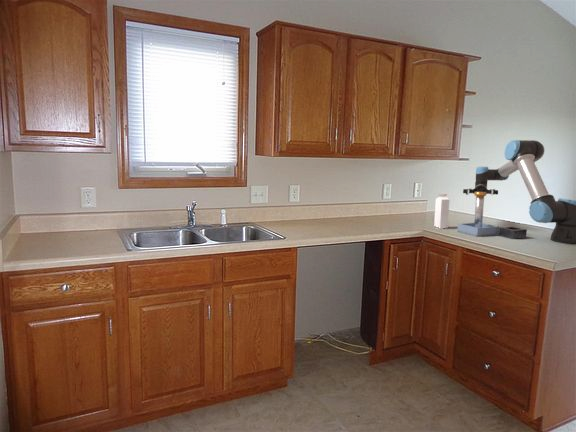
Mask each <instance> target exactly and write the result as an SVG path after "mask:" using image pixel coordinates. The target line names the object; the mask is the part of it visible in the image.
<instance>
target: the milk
mask: <svg viewBox="0 0 576 432" xmlns="http://www.w3.org/2000/svg"><path fill="white" fill-rule="evenodd" d="M434 206H435V207H434V221H433V223H434V225H433V227H434V226H436V227H439V228H449V227H448V226H449V213H450V198H449V197H448V195H447V193H439V194H438V197H436V198H435V205H434Z"/></svg>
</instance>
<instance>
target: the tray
mask: <svg viewBox="0 0 576 432" xmlns="http://www.w3.org/2000/svg"><path fill="white" fill-rule="evenodd" d="M499 227H500V226H498V225H493V224H487V223H484V222H482V228H476V227H474V222H465V223H457V233H460V232H461V233H462V234H465V235H469V236H473V237H479V238H480V237H490V236H499Z"/></svg>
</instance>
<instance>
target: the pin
mask: <svg viewBox="0 0 576 432" xmlns="http://www.w3.org/2000/svg"><path fill="white" fill-rule="evenodd" d="M473 195H474V196H475V206H474V207H475V209H474V222H473V223H474V227H476V228H482V223H483V218H484V206H485V205H484V204H485V197H486V196H487V194H486V192H475V193H474V194H473Z"/></svg>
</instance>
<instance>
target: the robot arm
mask: <svg viewBox="0 0 576 432" xmlns="http://www.w3.org/2000/svg"><path fill="white" fill-rule="evenodd" d="M504 148H505V149H504V158H505V160H507V161H508V162H506V163H505V164H503V165H502V166H500V167H499V168H495V169H493V168H492V169H490V168H489V167H488V166H477V167H476V169H475V182H474V184H475V185H474V188H467V189H466V188H465V189H464V188H463V190H462V193H463V194H465V195H470V194H473V195H474V193H475V192H486V195H491V196H494V195H499V190H497V189H496V188H493V189H491V188H490V189H488V182H489V181H506V180H509V179H508V178H509V177H510V176H511V175H512V174H513V173H516V172H517V171H519V173H520V175H521V178H522V180H523V182H524V184H525V187H526V189H527V191H528V194H529V196H530V198H531V201H530V205H529V208H528V210H529V211H528V213H529V215H530V218H531V219H532V220H533V221H534V222H536V223H540V224H541V223H543V224H548V223H550V224H551V223H553V224H554V223H555V227H554V228H553V230H552V232H551V234H550V240H551V241H554V242H560V243H565V244H566V243H567V244H576V200H574V199H568V198H561V197H559V198H558V200H556V199H555V196H554V195H553V194H550V193H549V191H548V189H547V186H546V185H545V182H544V181H543V178H542V177H541V174H540V172H539V170H538V167H537V166H536V163H537V162H538V161H539V160H541V159H542V158H543V157H544V154H545V147H544V145H543V143H542V142H540V141H538V140H532V139H531V140H530V139H529V140H528V139H527V140H523V139H522V140H519V139H516V140H511V141H508V143H507V144H506V146H505V147H504Z"/></svg>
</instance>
